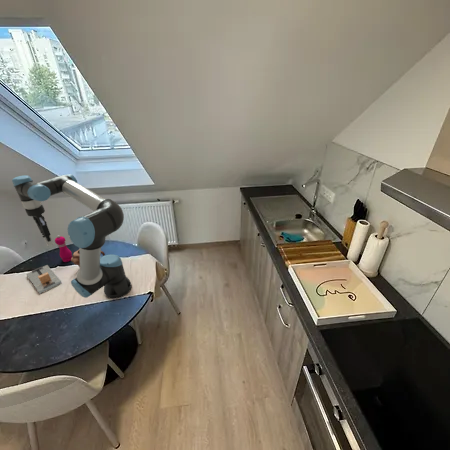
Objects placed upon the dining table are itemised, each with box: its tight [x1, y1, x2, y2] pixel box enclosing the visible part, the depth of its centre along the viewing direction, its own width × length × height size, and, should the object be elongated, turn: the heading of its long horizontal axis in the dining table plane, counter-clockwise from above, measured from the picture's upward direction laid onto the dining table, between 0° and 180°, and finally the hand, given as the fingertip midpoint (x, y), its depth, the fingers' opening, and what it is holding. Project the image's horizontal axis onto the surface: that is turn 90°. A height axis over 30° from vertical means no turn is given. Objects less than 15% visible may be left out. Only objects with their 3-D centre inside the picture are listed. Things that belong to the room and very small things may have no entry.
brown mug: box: [70, 249, 106, 268], centre depth 164 cm, size 20×12×14 cm, turn 113°
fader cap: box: [38, 272, 51, 284], centre depth 152 cm, size 2×5×5 cm, turn 139°
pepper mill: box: [54, 234, 73, 263], centre depth 171 cm, size 7×7×20 cm
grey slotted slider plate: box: [25, 264, 62, 295], centre depth 157 cm, size 24×12×3 cm, turn 49°
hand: (50, 245), depth 138 cm, fingers closed
